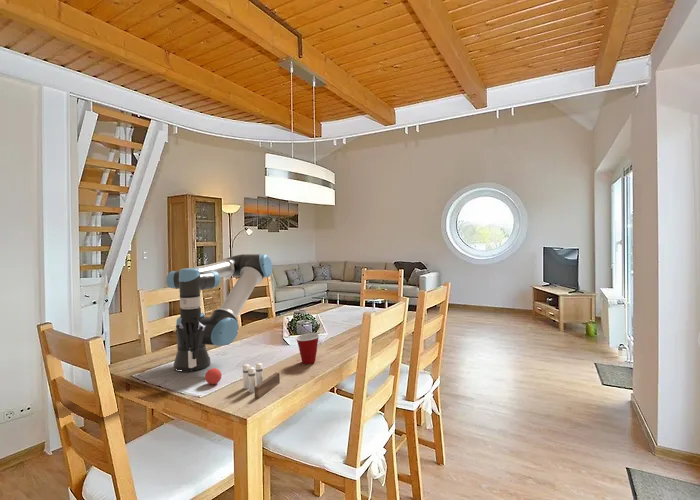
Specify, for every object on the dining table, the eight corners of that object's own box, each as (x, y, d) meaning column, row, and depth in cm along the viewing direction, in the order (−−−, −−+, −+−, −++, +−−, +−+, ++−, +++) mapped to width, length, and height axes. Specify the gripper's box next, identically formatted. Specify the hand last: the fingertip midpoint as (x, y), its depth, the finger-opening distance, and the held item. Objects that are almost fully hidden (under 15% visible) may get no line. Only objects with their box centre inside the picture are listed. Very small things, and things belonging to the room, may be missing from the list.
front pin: (242, 388, 146) (241, 366, 146) (245, 386, 149) (245, 363, 148) (247, 389, 146) (247, 366, 145) (251, 386, 148) (250, 364, 148)
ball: (202, 386, 150) (201, 370, 150) (212, 380, 156) (211, 365, 156) (215, 387, 148) (214, 372, 148) (225, 381, 154) (224, 366, 154)
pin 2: (255, 387, 147) (254, 364, 147) (258, 384, 150) (257, 362, 150) (260, 388, 147) (260, 365, 146) (264, 385, 149) (263, 363, 149)
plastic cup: (296, 358, 180) (295, 333, 180) (320, 357, 181) (319, 332, 181) (295, 366, 169) (294, 339, 169) (320, 365, 170) (319, 338, 170)
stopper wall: (254, 398, 137) (254, 387, 137) (276, 382, 152) (275, 372, 151) (258, 398, 137) (258, 387, 137) (279, 383, 151) (279, 372, 151)
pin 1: (247, 392, 143) (246, 369, 142) (251, 389, 145) (250, 367, 145) (253, 393, 142) (252, 369, 142) (257, 390, 144) (256, 367, 144)
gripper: (169, 308, 152) (172, 368, 153) (197, 309, 148) (199, 371, 149) (183, 305, 159) (186, 362, 160) (210, 306, 155) (212, 365, 156)
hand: (192, 366), depth 155 cm, fingers closed
